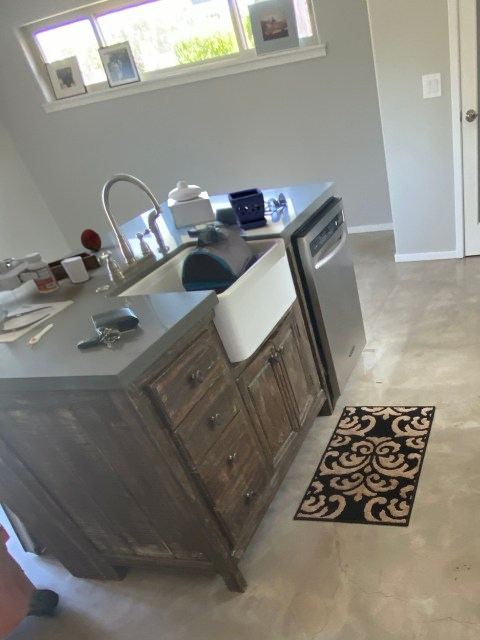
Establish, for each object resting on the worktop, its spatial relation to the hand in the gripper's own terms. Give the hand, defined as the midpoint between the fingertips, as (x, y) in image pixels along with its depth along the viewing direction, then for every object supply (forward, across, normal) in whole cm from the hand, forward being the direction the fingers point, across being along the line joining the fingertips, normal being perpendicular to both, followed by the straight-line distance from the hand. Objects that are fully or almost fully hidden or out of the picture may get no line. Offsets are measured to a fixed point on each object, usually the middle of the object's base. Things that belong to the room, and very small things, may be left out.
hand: (42, 270), depth 168 cm
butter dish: (+29, +84, +8) cm, 89 cm away
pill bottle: (-1, 0, +6) cm, 6 cm away
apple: (-7, +56, +8) cm, 57 cm away
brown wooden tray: (-6, +28, +8) cm, 29 cm away
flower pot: (+60, +58, +7) cm, 84 cm away
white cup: (+3, +15, +8) cm, 17 cm away
